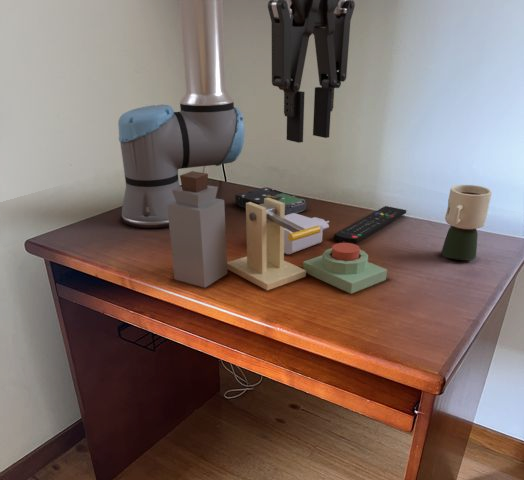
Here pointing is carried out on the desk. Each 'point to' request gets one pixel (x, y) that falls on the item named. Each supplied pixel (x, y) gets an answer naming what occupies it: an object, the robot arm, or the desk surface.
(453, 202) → the character mug
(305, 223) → the charger
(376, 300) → the desk surface
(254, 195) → the disk drive
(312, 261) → the button box
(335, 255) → the button
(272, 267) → the bracket
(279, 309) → the desk surface
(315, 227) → the t-handle lever
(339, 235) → the remote control
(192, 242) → the perfume bottle
